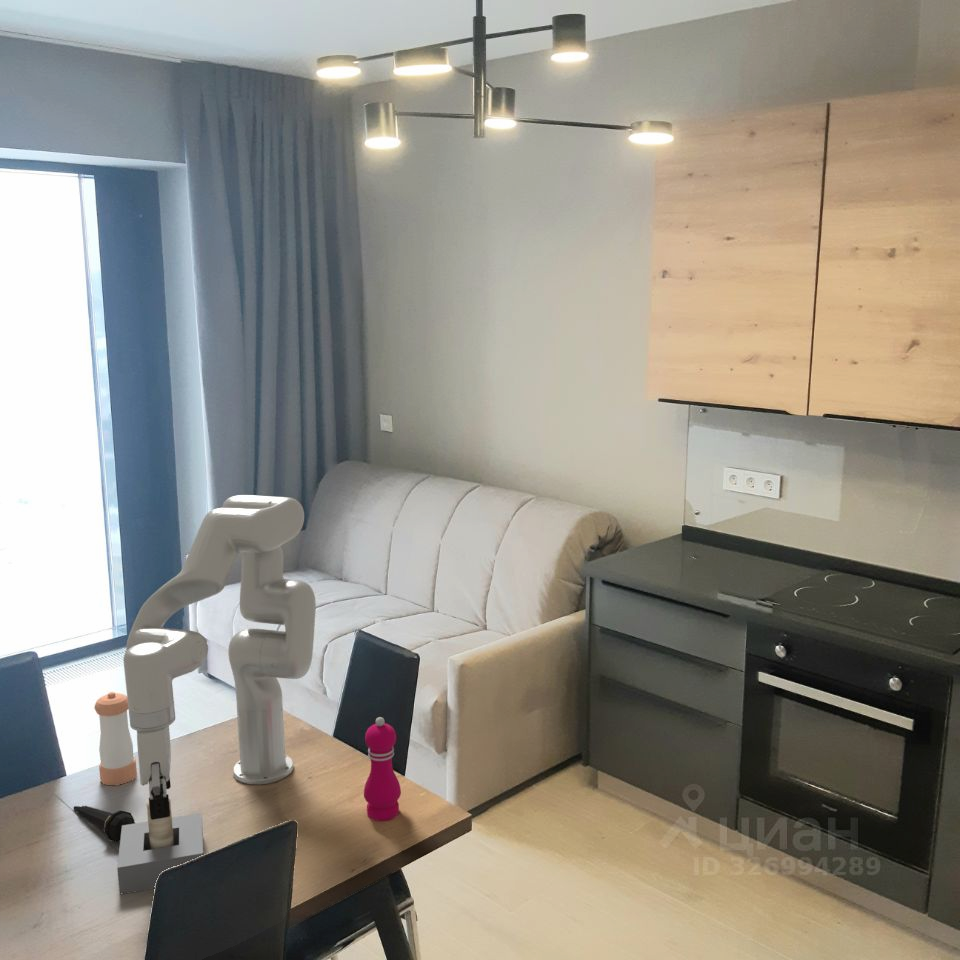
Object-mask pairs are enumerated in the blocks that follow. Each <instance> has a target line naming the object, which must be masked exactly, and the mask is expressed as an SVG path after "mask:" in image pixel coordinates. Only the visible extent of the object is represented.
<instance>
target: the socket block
mask: <svg viewBox="0 0 960 960" xmlns="http://www.w3.org/2000/svg"><path fill="white" fill-rule="evenodd" d="M172 827H173V839H174V846H170V847H164V848H158V849H152V850H150V838H149V826H148V820H147V821H142V822H135V824H128V825H122V830H121V839H120V841H119V849H118V858H117V880H118V891H119V892H118V893H119V895H122V894H121V893H125V894H129V893H130V892H131V893H135V891H136V892H140V891H146V890H153V889H155V888H154V886H155V883H156V880H157V878H158V876H159V874H160V873H161V872H162V871H164V870H166V869H168V868H171V867H173V866H177V865H180V864H183V863H185V862H187V861H190V860H192V859H195V858H197V857H199V856H201V855H204V856H205V849H204V832H203V831H204V829H203V817H202V812H199V813H194V814H193V813H192V814H186V815H180V816H173V817H172ZM152 888H153V889H152ZM128 892H129V893H128Z"/></svg>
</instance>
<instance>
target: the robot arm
mask: <svg viewBox="0 0 960 960" xmlns="http://www.w3.org/2000/svg"><path fill="white" fill-rule="evenodd" d="M304 522H305V511H304V507H303V506H302V504H301V503H300V501H298V500H297V499H295V498H293V497H288V496H273V495H272V496H271V495H259V494H256V495H255V494H237V495H232V496H230V497H228V498H227V499H226V500H224V502H223V504H222V507H219V508H218V507H217V508H214V509H212V510H210V511H209V512H208V513H206V514H205V515H204V517H203V519H202V522H201V524H200V526H199V528H198V530H197V533H196V536H195V538H194V540H193V543H192V545H191V547H190V549H189V552H188V554H187V556H186V558H185V561H184V563H183V566H182V568H181V570H180V572H178V574H177V575H176V576H174V577H173V578H170V580H168V581H167V582H166V583H165V584H163V585H162V586H161V587H159V588H158V589H157V590H156V591H155V592H154V593H153V594H151V596H149V597H148V598H147V599H146V601H144V602H143V605H142V606H141V607H140V609H139V611H138V613H137V615H136V618H135V620H134V621H133V623H132V626H131V629H130V631H129V634H128V637H127V641H126V647H125V648H126V649H125V652H124V655H123V669H124V670H123V671H124V680H125V681H124V682H125V689H126V696H127V699H128V716H129V719H128V720H129V726H130V728H131V729H132V730H133V731H136V741H137V742H136V743H137V756H138V768H139V780H140V781H139V782H140V785H141V786H142V787H144V786H145V785H148V791H149V795H148V796H149V797H148V802H149V807H150V817H151V819H152V820H154V819H160V818H166V817H169V816H170V807H169V799H170V798H169V794H167V790H169V789H171V777H170V776H171V762H172V761H171V760H172V759H171V757H172V755H171V754H172V753H171V749H172V748H171V747H172V746H171V735H170V734H171V733H170V732H171V731H170V726H171V725H172V724H173V723H174V722H175V720H176V710H175V699H174V688H173V687H174V686H173V680H174V679H176V678H179V677H182V676H184V675H187V674H189V673H192V672H194V671H196V670H197V669H198V668H200V667H201V666H202V665H203V663H204V662H205V661H206V659H207V656H208V652H209V645H208V641H207V639H206V638H205V637H204V635H203V634H201V633H199V632H197V631H195V630H194V631H193V630H190V629H188V630H187V629H179V628H172V627H171V628H170V627H164V625H165V624H166V623H167V621H168V620H169V619H170V618H171V617H172V616H174V614H176V613H177V612H178V611H180V610H181V609H183V608H185V607H187V606H190V605H192V604H195V603H198V602H201V601H203V600H205V599H208V598H212V597H213V596H216V595H218V594H220V593H221V592H222V591H223V590H224V588H225V587H226V584H227V582H228V578H229V576H230V573H231V571H232V569H233V566H234V563H235V561H236V558H237V556H238V554H239V553H241V572H240V573H241V577H240V589H239V590H240V591H239V611H240V614H241V616H242V618H244V620H246V621H249V622H253V623H260V624H267V625H268V624H270V625H280V626H284V630H285V631H284V630H283V631H281V630H273V629H265V628H246V629H242V630H240V631H238V632H236V633H235V634H233V636H232V638H231V640H230V642H229V644H228V649H227V650H228V652H227V653H228V660H229V665H230V669H231V673H232V675H233V681H234V686H235V687H234V688H235V697H236V698H235V699H236V717H237V731H238V745H239V746H238V747H239V748H238V750H239V760H238V761H237V762H236V763H235V765H234V766H233V769H232V771H233V772H232V773H233V777H234V778H235V779H236V780H237V781H239V782H240V783H243V784H248V785H266V784H271V783H275V782H278V781H280V780H283V779H284V778H286V777H288V776H289V775H290V774H291V773H292V771H293V770H294V761H293V759H292V758H291V757H290V756H289V755H286V744H285V743H286V742H285V721H284V707H283V706H284V705H283V704H284V701H283V690H282V687H281V684H280V682H279V679H288V680H298V679H301V678H302V679H303V677H305V676H306V675H307V673H308V672H309V671H310V668H311V665H312V661H313V652H314V641H315V623H316V609H317V608H316V607H317V606H316V605H317V603H316V602H317V601H316V596H315V593H314V589H313V588H312V586H311V585H310V584H309V583H307V582H305V581H302V580H299V579H298V580H297V579H289V578H284V574H283V573H284V552H283V549H282V547H281V546H282V545H284V544H286V543H288V542H290V541H291V540H293V539H294V538H295V537H297V536H298V534H299V533H300V532H301V530H302V528H303V526H304Z"/></svg>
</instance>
